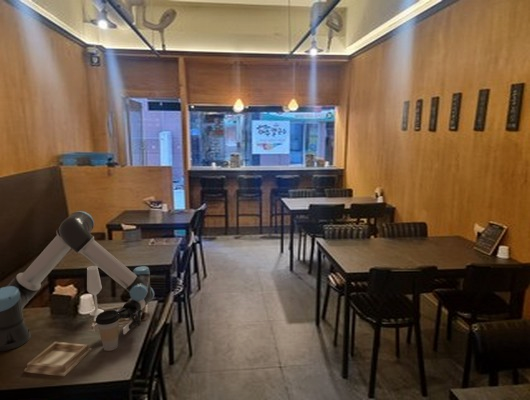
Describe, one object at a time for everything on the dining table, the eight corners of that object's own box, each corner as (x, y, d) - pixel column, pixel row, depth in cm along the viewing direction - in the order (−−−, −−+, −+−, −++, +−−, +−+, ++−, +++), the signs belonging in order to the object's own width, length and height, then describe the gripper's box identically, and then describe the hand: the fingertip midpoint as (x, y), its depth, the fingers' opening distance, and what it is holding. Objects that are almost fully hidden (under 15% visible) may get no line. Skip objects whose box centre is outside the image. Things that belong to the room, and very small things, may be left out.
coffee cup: (126, 347, 161) (123, 314, 158) (103, 356, 154) (100, 322, 151) (116, 338, 167) (114, 307, 164) (95, 346, 161) (91, 314, 158)
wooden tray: (24, 371, 145) (23, 364, 144) (55, 346, 161) (54, 340, 161) (64, 376, 142) (63, 369, 141) (91, 350, 158) (91, 343, 158)
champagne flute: (96, 316, 186) (91, 271, 182) (86, 314, 189) (81, 269, 184) (107, 310, 193) (102, 266, 188) (97, 308, 195) (92, 264, 191)
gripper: (159, 315, 178) (137, 340, 157) (110, 311, 182) (82, 335, 161) (158, 300, 176) (135, 324, 156) (108, 297, 180) (81, 319, 160)
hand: (108, 330), depth 158 cm, fingers open, 13 cm apart
